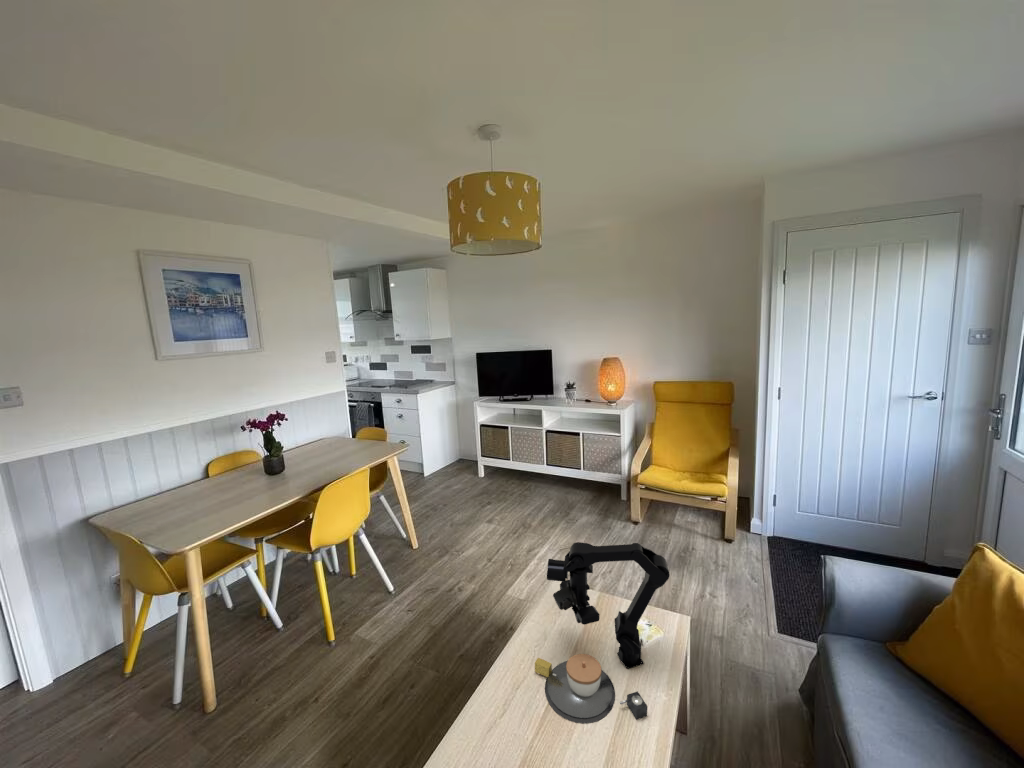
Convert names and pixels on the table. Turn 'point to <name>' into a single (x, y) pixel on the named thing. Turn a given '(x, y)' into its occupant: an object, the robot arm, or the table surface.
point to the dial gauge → (636, 705)
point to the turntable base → (576, 718)
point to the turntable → (568, 698)
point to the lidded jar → (583, 674)
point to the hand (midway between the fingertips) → (578, 622)
